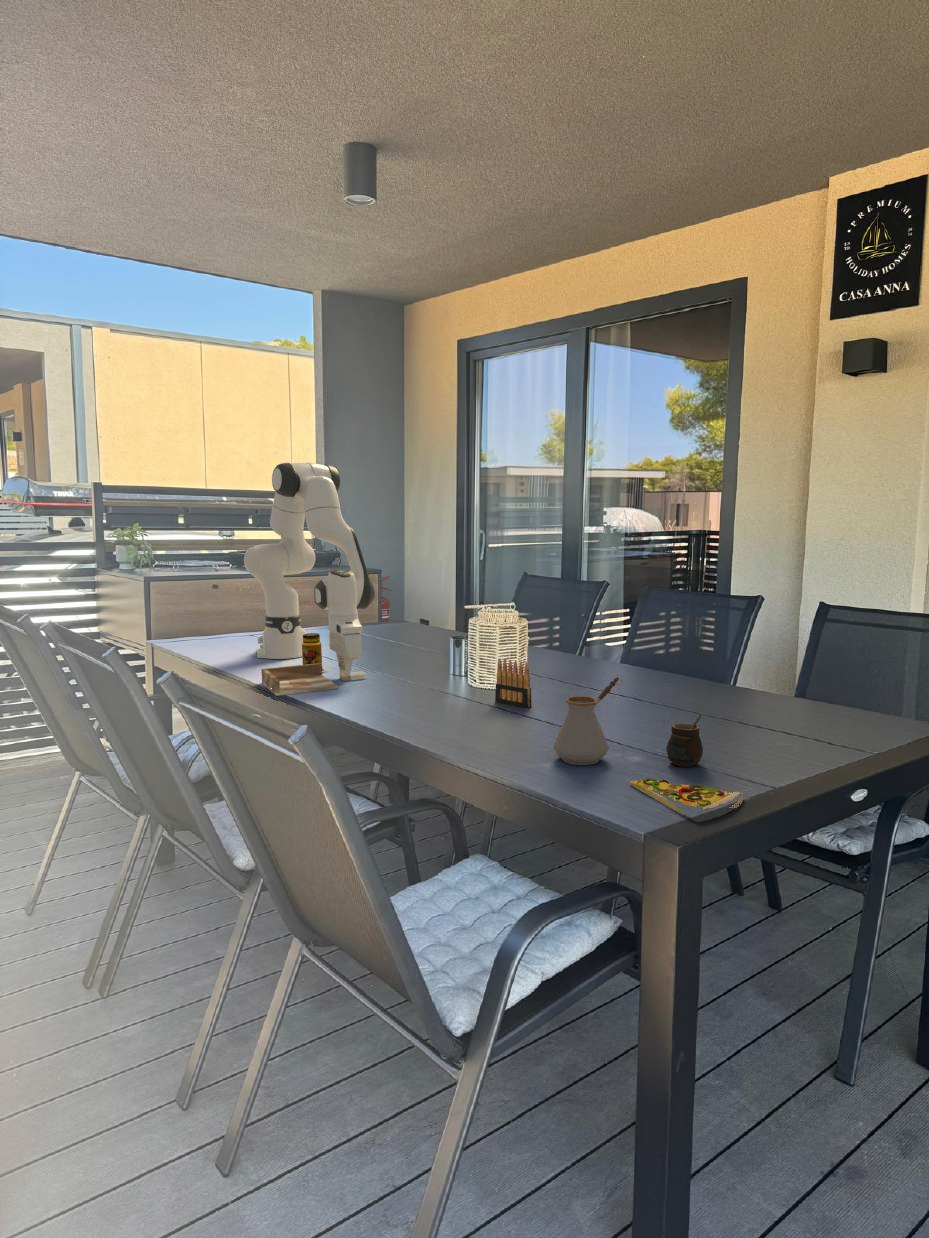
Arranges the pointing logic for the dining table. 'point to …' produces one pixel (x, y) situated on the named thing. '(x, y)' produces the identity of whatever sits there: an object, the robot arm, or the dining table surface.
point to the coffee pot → (582, 731)
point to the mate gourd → (685, 744)
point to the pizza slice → (685, 794)
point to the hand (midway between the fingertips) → (344, 669)
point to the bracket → (349, 675)
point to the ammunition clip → (513, 685)
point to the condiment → (312, 649)
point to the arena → (296, 679)
